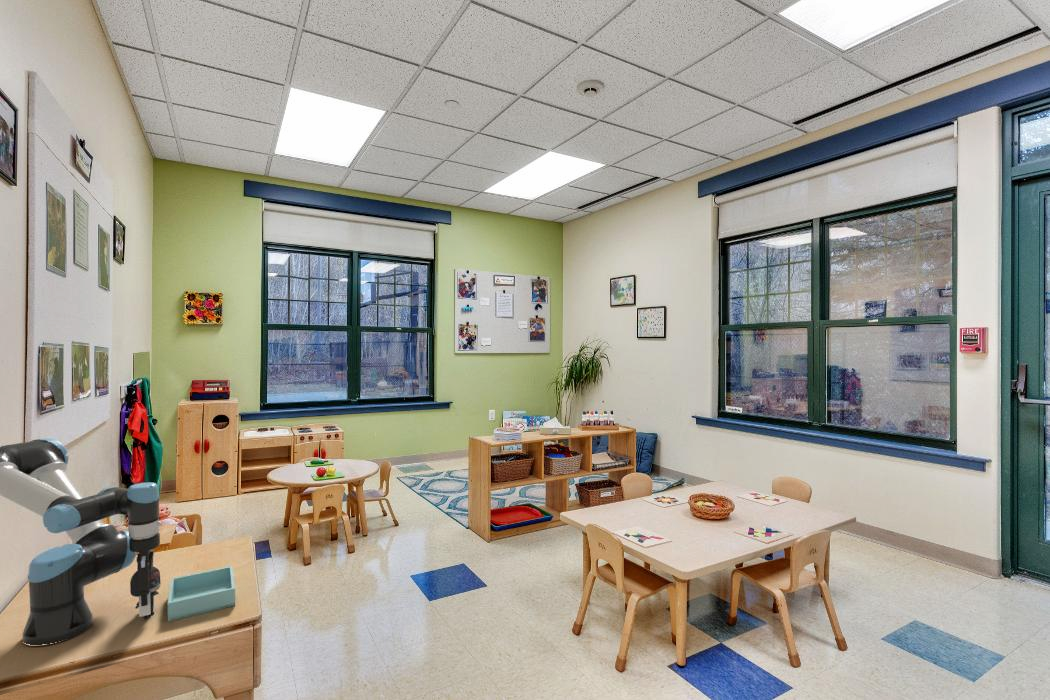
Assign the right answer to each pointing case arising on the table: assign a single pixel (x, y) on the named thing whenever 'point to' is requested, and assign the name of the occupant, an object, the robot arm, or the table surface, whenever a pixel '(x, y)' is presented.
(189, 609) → the bin
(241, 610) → the table surface
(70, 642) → the table surface
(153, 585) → the toy
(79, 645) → the table surface
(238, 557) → the table surface
